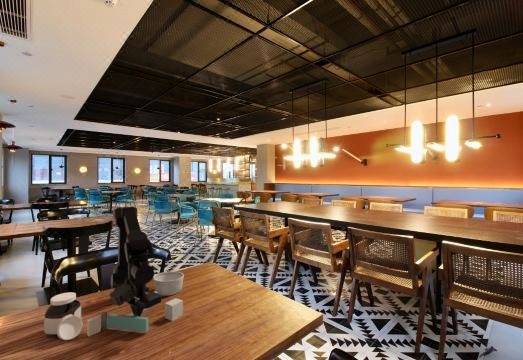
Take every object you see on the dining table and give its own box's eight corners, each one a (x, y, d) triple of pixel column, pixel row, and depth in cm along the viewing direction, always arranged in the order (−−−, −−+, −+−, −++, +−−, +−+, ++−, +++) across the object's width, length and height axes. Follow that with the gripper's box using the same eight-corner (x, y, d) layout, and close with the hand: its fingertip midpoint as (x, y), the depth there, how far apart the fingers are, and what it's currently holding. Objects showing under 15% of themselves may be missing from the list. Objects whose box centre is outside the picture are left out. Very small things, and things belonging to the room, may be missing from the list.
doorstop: (164, 318, 97) (165, 303, 97) (175, 312, 101) (175, 298, 101) (172, 321, 94) (172, 306, 94) (182, 315, 99) (183, 300, 99)
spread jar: (63, 322, 93) (64, 290, 93) (94, 323, 93) (95, 290, 93) (33, 343, 81) (33, 306, 81) (68, 344, 81) (69, 307, 81)
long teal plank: (107, 327, 89) (107, 315, 89) (110, 325, 90) (110, 313, 90) (146, 332, 86) (146, 319, 86) (148, 330, 87) (148, 317, 87)
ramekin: (172, 283, 129) (172, 269, 129) (189, 289, 121) (189, 274, 121) (147, 292, 118) (147, 277, 118) (164, 300, 111) (164, 284, 111)
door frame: (86, 334, 86) (86, 319, 86) (154, 303, 108) (154, 290, 108) (89, 337, 84) (90, 321, 84) (158, 304, 107) (158, 291, 107)
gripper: (98, 276, 87) (97, 322, 87) (131, 288, 78) (131, 340, 78) (129, 266, 97) (129, 308, 97) (162, 277, 87) (162, 323, 87)
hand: (137, 319), depth 90 cm, fingers closed
